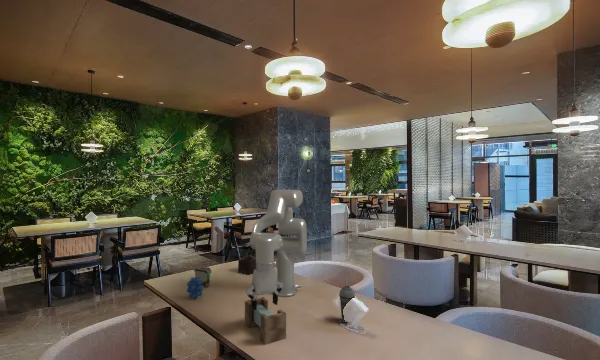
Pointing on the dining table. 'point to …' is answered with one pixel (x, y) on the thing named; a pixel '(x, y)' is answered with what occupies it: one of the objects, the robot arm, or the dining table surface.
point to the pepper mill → (247, 263)
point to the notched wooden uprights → (267, 322)
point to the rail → (259, 314)
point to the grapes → (195, 287)
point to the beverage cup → (345, 297)
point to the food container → (203, 275)
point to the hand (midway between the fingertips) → (264, 306)
